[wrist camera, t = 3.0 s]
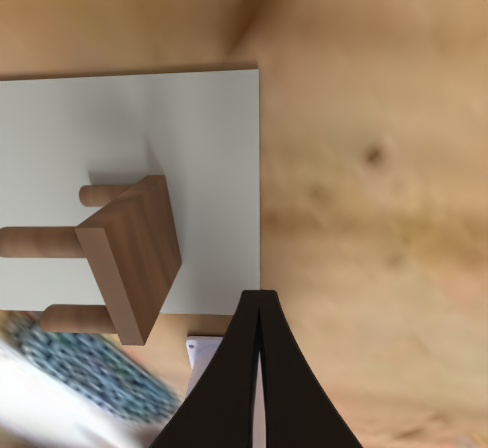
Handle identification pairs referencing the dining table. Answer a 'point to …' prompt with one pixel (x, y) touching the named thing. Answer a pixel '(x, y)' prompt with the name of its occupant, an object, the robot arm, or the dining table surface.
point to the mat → (135, 177)
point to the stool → (111, 258)
